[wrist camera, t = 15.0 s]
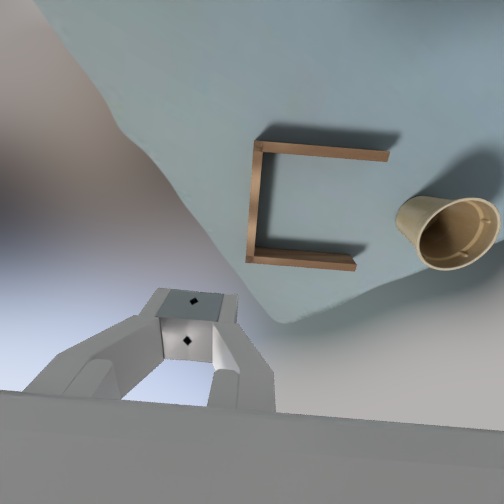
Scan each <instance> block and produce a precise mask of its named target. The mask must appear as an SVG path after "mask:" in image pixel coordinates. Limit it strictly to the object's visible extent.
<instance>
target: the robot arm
mask: <svg viewBox="0 0 504 504" xmlns="http://www.w3.org/2000/svg"><path fill="white" fill-rule="evenodd" d="M237 309H238V294H221V293H206V292H197V291H188V290H177V289H167V288H158V289H157V290H156V291H155V293H154V294H153V295H152V297H151V298H150V300H149V301H148V302H147V304H146V305H145V307H144V308H143V309H142V311H141V312H140V314H139V315H133V316H132V317H130V318H128V319H126V320H124V321H122V322H120V323H118V324H116V325H114V326H112V327H110V328H108V329H106V330H104V331H102V332H100V333H98V334H96V335H94V336H92V337H90V338H88V339H87V340H85V341H83V342H81V343H79V344H77V345H75V346H73V347H71V348H69V349H67V350H65V351H63V352H61V353H59V354H58V355H57V356H56V357H55V358H54V359H53V360H52V361H51V362H50V363H49V364H48V365H47V366H46V367H45V368H44V369H43V370H42V371H41V372H40V374H38V376H37V377H36V378H35V379H34V380H33V381H32V382H31V383H30V384H29V385H28V386H27V387H26V388H25V389H24V390H23V391H22V392H19V391H7V390H0V504H504V431H498V430H484V429H473V428H461V427H449V426H436V425H424V424H411V423H398V422H387V421H375V420H362V419H350V418H338V417H326V416H313V415H302V414H289V413H277V412H276V406H275V388H274V372H273V371H272V369H271V368H270V367H269V365H268V364H267V363H266V361H265V360H264V358H263V357H262V356H261V354H260V353H259V352H258V350H257V349H256V347H255V346H254V345H253V343H252V342H251V341H250V339H249V338H248V336H247V335H246V334H245V332H244V331H243V330H242V328H241V327H240V325H239V324H237ZM164 359H172V360H174V359H175V360H190V361H199V362H208V363H213V367H214V369H215V372H214V376H213V381H212V385H211V390H210V395H209V399H208V404H207V407H203V406H191V405H179V404H165V403H153V402H142V401H130V400H121V399H122V398H123V397H124V396H125V395H126V394H127V393H128V392H129V391H130V390H132V389H133V388H134V387H135V386H136V385H137V384H138V383H139V382H140V381H142V380H143V379H144V378H145V377H146V376H147V375H148V374H149V373H150V372H152V371H153V370H154V369H155V368H156V367H157V366H158V365H159V364H160V363H162V362H163V361H164Z"/></svg>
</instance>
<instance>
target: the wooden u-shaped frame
mask: <svg viewBox="0 0 504 504" xmlns="http://www.w3.org/2000/svg"><path fill="white" fill-rule="evenodd" d="M263 152H272V153H284V154H296V155H308V156H321V157H333V158H345V159H357V160H370V161H382V162H387V161H388V158H389V154H390V152H388V151H378V150H366V149H354V148H342V147H330V146H317V145H305V144H293V143H281V142H268V141H256V140H254V150H253V164H252V178H251V192H250V206H249V220H248V235H247V249H246V263H257V264H269V265H282V266H294V267H306V268H319V269H331V270H343V271H355V269H356V266H357V264H356V263H355V262H354V260H353V259H352V258H351V256H350V255H347V254H335V253H323V252H310V251H298V250H286V249H273V248H261V247H255V237H256V226H257V214H258V202H259V191H260V179H261V167H262V156H263Z"/></svg>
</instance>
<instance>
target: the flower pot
mask: <svg viewBox="0 0 504 504" xmlns="http://www.w3.org/2000/svg"><path fill="white" fill-rule="evenodd" d="M426 225H427V226H426ZM396 226H397V228H398V230H399V231H400V232H401V233H402V234H403V235H404V236H405V237H406V238H407V239H408V240H409V241H410V242H411V243H412V244H413V245H414V246H415V249H416V251H417V254H418V256H419V258H420V260H421V261H422V262H423V263H424V264H426V265H427V266H429V267H431V268H433V269H437V270H454V269H458V268H462V267H464V266H467V265H469V264H471V263H473V262H474V261H476V260H477V259H479V258H480V257H481V256H483V255H484V254H485V253H486V252H487V251H488V250H489V249H490V247H491V246H492V245H493V244H494V242H495V240H496V239H497V236H498V234H499V231H500V227H501V218H500V214H499V211H498V210H497V208H496V207H495V206H494V205H493V204H492V203H491V202H489V201H487V200H485V199H481V198H476V197H467V198H461V199H454V200H451V199H443V198H435V197H429V196H417V197H414V198H412V199H410V200H408V201H407V202H405V203H404V204H403V205H402V206H401V207H400V209H399V211H398V215H397V217H396Z"/></svg>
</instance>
